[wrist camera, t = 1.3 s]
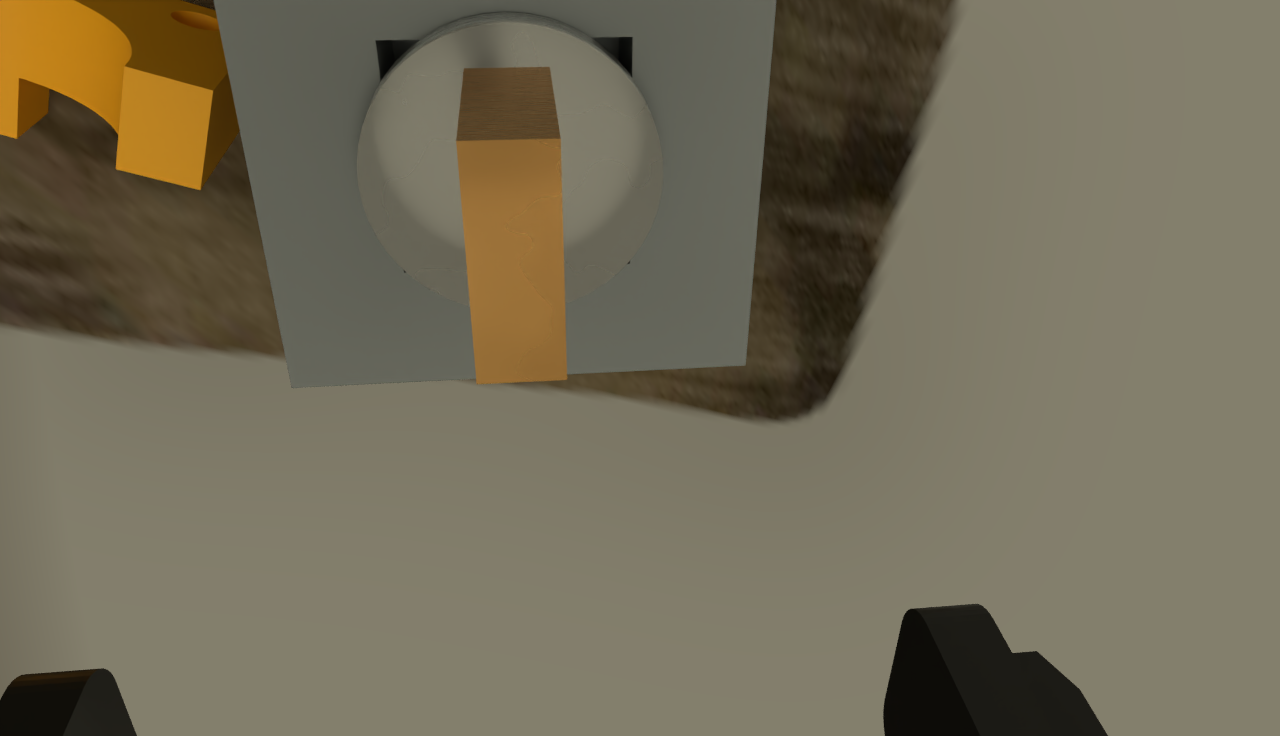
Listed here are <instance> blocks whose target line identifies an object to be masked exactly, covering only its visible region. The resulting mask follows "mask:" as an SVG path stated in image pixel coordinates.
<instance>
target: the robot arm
mask: <svg viewBox="0 0 1280 736" xmlns="http://www.w3.org/2000/svg"><path fill="white" fill-rule="evenodd" d="M883 713H884V714H883V715H884V716H883V719H884V731H885V736H1108V735H1107V734H1106V732H1105V730H1104V729H1103V727H1102V725H1101V724H1100V722H1099V720H1098V719H1097V717H1096V715H1095V714H1094V712H1093V711H1092V709H1091V707H1090V706H1089V704H1088V702H1087V701H1086V699H1085V697H1084V696H1083V694H1082V693H1081V691H1080V689H1079V688H1077V687H1076V686H1075V685H1074V684H1073V683H1072V682H1071V681H1070V680H1068V679H1067V678H1066V677H1065V676H1064V675H1063V674H1062V673H1061V672H1059V671H1058V670H1057V669H1056V668H1055V667H1054V666H1053V665H1052V664H1050V663H1049V662H1048V661H1047V660H1046V659H1045V658H1044V657H1043V656H1041V655H1040V654H1039V653H1038V652H1037V651H1035V652H1022V653H1012V652H1011V650H1010V648H1009V647H1008V645H1007V643H1006V641H1005V640H1004V638H1003V636H1002V634H1001V632H1000V630H999V629H998V627H997V625H996V623H995V621H994V620H993V618H992V617H991V615H990V613H989V612H988V611H987V610H986V609H985V608H984V607H983V606H981V605H979V604H968V605H956V606H942V607H929V608H916V609H910V610H908V611H907V612H906V613H905V615H904V617H903V620H902V624H901V629H900V633H899V638H898V643H897V647H896V651H895V656H894V660H893V665H892V670H891V674H890V679H889V683H888V688H887V693H886V697H885V702H884V712H883ZM0 736H137V735H136V732H135V730H134V727H133V725H132V722H131V719H130V717H129V714H128V712H127V709H126V706H125V704H124V701H123V699H122V696H121V693H120V691H119V688H118V686H117V683H116V681H115V679H114V677H113V675H112V674H111V672H109V671H108V670H106V669H90V670H77V671H64V672H51V673H38V674H25V675H21V676H19V677H17V678H16V679H14V680H13V681H12V682H11V684H10V685H9V686H8V687H7V689H6V691H5V692H4V694H3V696H2V698H1V700H0Z"/></svg>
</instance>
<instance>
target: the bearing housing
mask: <svg viewBox="0 0 1280 736" xmlns="http://www.w3.org/2000/svg"><path fill="white" fill-rule="evenodd" d="M214 5H215V10H216V15H217V20H218V25H219V30H220V35H221V40H222V45H223V50H224V55H225V60H226V65H227V70H228V74H229V79H230V84H231V89H232V94H233V99H234V104H235V109H236V114H237V119H238V124H239V129H240V134H241V139H242V144H243V149H244V154H245V159H246V164H247V169H248V174H249V179H250V184H251V188H252V193H253V198H254V203H255V208H256V213H257V218H258V223H259V228H260V233H261V238H262V243H263V248H264V253H265V258H266V263H267V268H268V273H269V278H270V283H271V288H272V293H273V298H274V302H275V307H276V312H277V317H278V322H279V327H280V332H281V337H282V342H283V347H284V352H285V357H286V362H287V367H288V371H289V376H290V382H291V387H292V388H299V387H321V386H341V385H359V384H381V383H401V382H421V381H441V380H461V379H476V371H475V359H474V347H473V336H472V324H471V312H470V306H466V305H463V304H460V303H457V302H455V301H452V300H449V299H447V298H445V297H443V296H441V295H439V294H437V293H435V292H433V291H431V290H430V289H428V288H427V287H425V286H424V285H422V284H421V283H419V282H418V281H416V280H415V279H414V278H413V277H411V276H410V275H409V274H408V273H407V272H406V271H404V270H403V269H402V268H401V267H400V266H399V265H398V264H397V263H396V262H395V260H394V259H393V258H392V257H391V256H390V255H389V254H388V253H387V251H386V250H385V248H384V247H383V245H382V244H381V243H380V241H379V240H378V238H377V236H376V235H375V233H374V231H373V229H372V227H371V225H370V223H369V221H368V218H367V216H366V213H365V210H364V207H363V205H362V201H361V196H360V192H359V187H358V178H357V152H358V143H359V139H360V134H361V129H362V125H363V123H364V120H365V117H366V114H367V111H368V109H369V106H370V103H371V101H372V98H373V95H374V93H375V91H376V89H377V88H378V86H379V84H380V82H381V80H382V79H383V77H384V75H385V74H386V73H387V71H388V70H389V69H390V68H391V66H392V65H393V64H394V62H395V61H396V60H397V59H398V58H399V57H400V56H401V55H402V54H403V53H404V52H405V51H406V50H407V49H408V48H409V47H410V46H412V45H413V44H415V43H416V42H417V41H419V40H420V39H421V38H423V37H424V36H425V35H427V34H429V33H431V32H433V31H435V30H437V29H438V28H440V27H442V26H444V25H447V24H449V23H452V22H455V21H458V20H460V19H463V18H467V17H472V16H477V15H481V14H490V13H503V12H507V13H525V14H530V15H535V16H541V17H546V18H549V19H552V20H555V21H558V22H561V23H564V24H566V25H568V26H570V27H572V28H575V29H577V30H579V31H581V32H583V33H584V34H586V35H587V36H589V37H591V38H592V39H594V40H595V41H597V42H598V43H600V44H601V45H602V46H603V47H604V48H606V49H607V50H608V51H609V52H610V53H611V54H612V55H613V56H615V57H616V58H617V59H618V61H619V62H620V63H621V64H622V65H623V66H624V68H625V69H626V70H627V71H628V72H629V74H630V75H631V77H632V78H633V80H634V81H635V83H636V84H637V86H638V87H639V89H640V91H641V93H642V95H643V97H644V99H645V101H646V103H647V105H648V108H649V110H650V113H651V115H652V118H653V120H654V123H655V127H656V130H657V133H658V136H659V140H660V145H661V151H662V157H663V183H662V193H661V198H660V202H659V206H658V210H657V213H656V216H655V219H654V221H653V224H652V226H651V229H650V231H649V232H648V234H647V236H646V238H645V240H644V242H643V243H642V245H641V246H640V248H639V249H638V251H637V252H636V253H635V255H634V256H633V257H632V259H631V260H630V261H629V262H628V263H627V264H626V265H625V266H624V267H623V268H622V269H621V270H620V271H619V272H618V273H617V274H616V275H615V276H613V277H612V278H611V279H610V280H609V281H607V282H606V283H605V284H603V285H602V286H600V287H599V288H597V289H596V290H594V291H592V292H591V293H589V294H587V295H585V296H583V297H581V298H579V299H577V300H574V301H572V302H569V303H566V304H565V317H566V354H567V374H582V373H602V372H622V371H642V370H662V369H682V368H702V367H722V366H742V365H746V353H747V341H748V329H749V318H750V306H751V294H752V282H753V270H754V259H755V247H756V235H757V223H758V211H759V200H760V188H761V176H762V164H763V152H764V141H765V129H766V117H767V105H768V93H769V82H770V70H771V58H772V46H773V34H774V23H775V11H776V0H214Z"/></svg>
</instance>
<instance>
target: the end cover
mask: <svg viewBox="0 0 1280 736" xmlns="http://www.w3.org/2000/svg"><path fill="white" fill-rule="evenodd" d="M357 178H358V187H359V192H360V196H361V201H362V205H363V207H364V210H365V213H366V216H367V218H368V221H369V223H370V225H371V227H372V229H373V231H374V233H375V235H376V236H377V238H378V240H379V241H380V243H381V244H382V245H383V247H384V248H385V250H386V251H387V253H388V254H389V255H390V256H391V257H392V258H393V259H394V260H395V262H396V263H397V264H398V265H399V266H400V267H401V268H402V269H403V270H404V271H406V272H407V273H408V274H409V275H410V276H411V277H413V278H414V279H415V280H416V281H418V282H419V283H421V284H422V285H424V286H425V287H427V288H428V289H430V290H431V291H433V292H435V293H437V294H439V295H441V296H443V297H445V298H447V299H449V300H452V301H455V302H457V303H460V304H463V305H466V306H470V312H471V324H472V336H473V347H474V359H475V371H476V383H477V384H491V383H511V382H531V381H550V380H567V354H566V317H565V304H566V303H569V302H572V301H574V300H577V299H579V298H581V297H583V296H585V295H587V294H589V293H591V292H592V291H594V290H596V289H597V288H599V287H600V286H602V285H603V284H605V283H606V282H607V281H609V280H610V279H611V278H612V277H613V276H615V275H616V274H617V273H618V272H619V271H620V270H621V269H622V268H623V267H624V266H625V265H626V264H627V263H628V262H629V261H630V260H631V259H632V257H633V256H634V255H635V253H636V252H637V251H638V249H639V248H640V246H641V245H642V243H643V242H644V240H645V238H646V236H647V234H648V232H649V231H650V229H651V226H652V224H653V221H654V219H655V216H656V213H657V210H658V206H659V202H660V198H661V193H662V183H663V157H662V151H661V145H660V140H659V136H658V133H657V130H656V127H655V123H654V120H653V118H652V115H651V113H650V110H649V108H648V105H647V103H646V101H645V99H644V97H643V95H642V93H641V91H640V89H639V87H638V86H637V84H636V83H635V81H634V80H633V78H632V77H631V75H630V74H629V72H628V71H627V70H626V69H625V68H624V66H623V65H622V64H621V63H620V62H619V61H618V59H617V58H616V57H615V56H613V55H612V54H611V53H610V52H609V51H608V50H607V49H606V48H604V47H603V46H602V45H601V44H600V43H598V42H597V41H595V40H594V39H592V38H591V37H589V36H587V35H586V34H584V33H583V32H581V31H579V30H577V29H575V28H572V27H570V26H568V25H566V24H564V23H561V22H558V21H555V20H552V19H549V18H546V17H541V16H535V15H530V14H525V13H507V12H503V13H490V14H481V15H477V16H472V17H467V18H463V19H460V20H458V21H455V22H452V23H449V24H447V25H444V26H442V27H440V28H438V29H437V30H435V31H433V32H431V33H429V34H427V35H425V36H424V37H423V38H421V39H420V40H419V41H417V42H416V43H415V44H413V45H412V46H410V47H409V48H408V49H407V50H406V51H405V52H404V53H403V54H402V55H401V56H400V57H399V58H398V59H397V60H396V61H395V62H394V64H393V65H392V66H391V68H390V69H389V70H388V71H387V73H386V74H385V75H384V77H383V79H382V80H381V82H380V84H379V86H378V88H377V89H376V91H375V93H374V95H373V98H372V101H371V103H370V106H369V109H368V111H367V114H366V117H365V120H364V123H363V125H362V129H361V134H360V139H359V143H358V152H357Z"/></svg>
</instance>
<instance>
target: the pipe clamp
mask: <svg viewBox="0 0 1280 736" xmlns="http://www.w3.org/2000/svg"><path fill="white" fill-rule="evenodd" d="M49 88H50V89H52V90H55V91H57V92H59V93H61V94H64V95H66V96H68V97H70V98H72V99H74V100H76V101H78V102H80V103H81V104H83V105H85V106H87V107H88V108H90V109H91V110H93V111H94V112H96V113H97V114H99V115H100V116H101V117H102V118H104V119H105V120H106V121H107V122H108V123H109V124H110V125H111V126H112V127H113V128H114V129H115V131H116V132H117V133H118V135H119V136H118V148H117V160H116V169H117V170H121V171H125V172H129V173H133V174H138V175H142V176H146V177H150V178H154V179H158V180H162V181H166V182H170V183H174V184H178V185H182V186H186V187H190V188H194V189H198V190H201V189H202V187H203V186H204V184H205V182H206V181H207V179H208V178H209V176H210V175H211V173H212V172H213V170H214V169H215V167H216V166H217V164H218V163H219V161H220V160H221V158H222V157H223V155H224V154H225V152H226V151H227V149H228V148H229V146H230V145H231V143H232V142H233V140H234V139H235V137H236V136H237V134H238V133H239V131H240V129H239V124H238V119H237V114H236V109H235V104H234V99H233V94H232V89H231V84H230V79H229V74H228V70H227V65H226V60H225V55H224V50H223V45H222V40H221V35H220V30H219V25H218V20H217V15H216V10H212V9H209V8H205V7H202V6H199V5H195V4H192V3H188V2H185V1H182V0H0V134H1V135H5V136H9V137H12V138H16V139H17V138H18V137H20V136H21V135H22V134H23V133H24V132H26V131H27V130H28V129H29V128H30V127H32V126H33V125H34V124H35V123H36V122H38V121H39V120H40V119H41V118H42V117H44V116H45V115H46V114H47V113H48V105H49Z"/></svg>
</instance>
